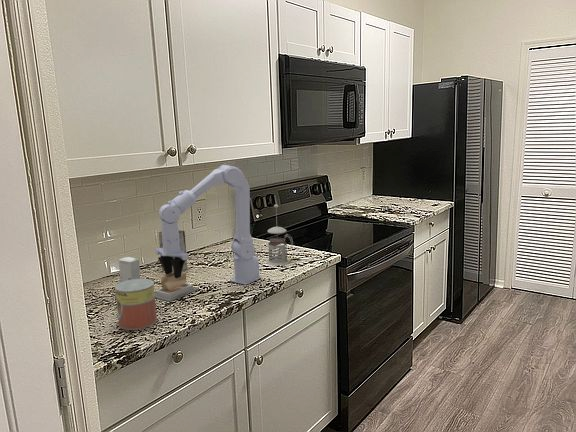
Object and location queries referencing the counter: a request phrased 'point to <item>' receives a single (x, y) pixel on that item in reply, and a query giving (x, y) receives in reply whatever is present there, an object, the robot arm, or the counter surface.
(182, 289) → the board
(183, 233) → the coffee box
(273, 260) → the french press
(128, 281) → the canned food
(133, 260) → the skincare box
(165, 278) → the maple block
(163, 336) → the counter surface
